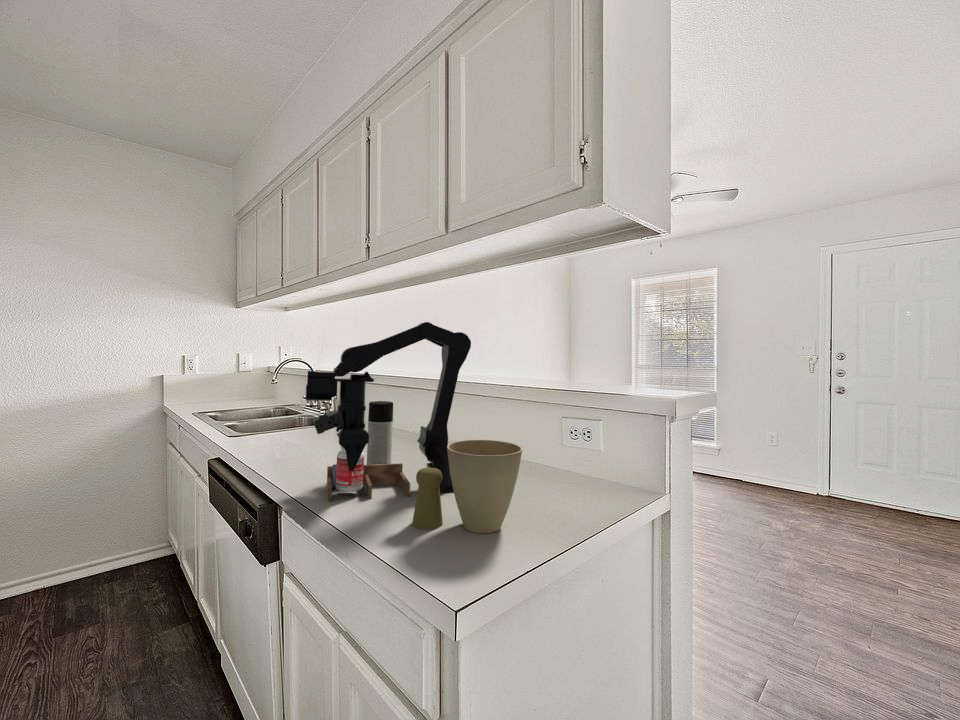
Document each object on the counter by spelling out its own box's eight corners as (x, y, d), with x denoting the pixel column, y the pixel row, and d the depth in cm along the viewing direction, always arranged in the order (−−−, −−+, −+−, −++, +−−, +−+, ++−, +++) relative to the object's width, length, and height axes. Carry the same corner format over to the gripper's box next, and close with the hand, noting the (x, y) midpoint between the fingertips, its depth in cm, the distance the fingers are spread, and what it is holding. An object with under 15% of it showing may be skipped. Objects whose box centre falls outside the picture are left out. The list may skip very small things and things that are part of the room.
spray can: (396, 474, 127) (398, 402, 127) (378, 479, 121) (381, 404, 121) (378, 470, 131) (381, 400, 130) (360, 475, 125) (363, 401, 125)
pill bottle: (353, 493, 104) (355, 445, 104) (330, 490, 106) (331, 442, 106) (368, 486, 110) (369, 440, 110) (345, 483, 112) (347, 438, 112)
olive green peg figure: (437, 531, 88) (439, 473, 88) (407, 527, 89) (409, 471, 89) (446, 520, 94) (448, 466, 94) (418, 516, 95) (420, 463, 95)
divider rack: (401, 482, 120) (402, 461, 120) (409, 496, 109) (410, 472, 109) (326, 486, 114) (327, 463, 113) (327, 501, 103) (328, 476, 103)
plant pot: (459, 509, 101) (462, 437, 101) (526, 519, 96) (529, 443, 96) (431, 534, 87) (434, 449, 86) (508, 547, 82) (512, 458, 82)
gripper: (316, 396, 114) (314, 459, 114) (315, 405, 96) (313, 480, 96) (362, 396, 118) (360, 457, 118) (370, 405, 100) (367, 477, 100)
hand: (350, 467), depth 108 cm, fingers closed on pill bottle, 6 cm apart
